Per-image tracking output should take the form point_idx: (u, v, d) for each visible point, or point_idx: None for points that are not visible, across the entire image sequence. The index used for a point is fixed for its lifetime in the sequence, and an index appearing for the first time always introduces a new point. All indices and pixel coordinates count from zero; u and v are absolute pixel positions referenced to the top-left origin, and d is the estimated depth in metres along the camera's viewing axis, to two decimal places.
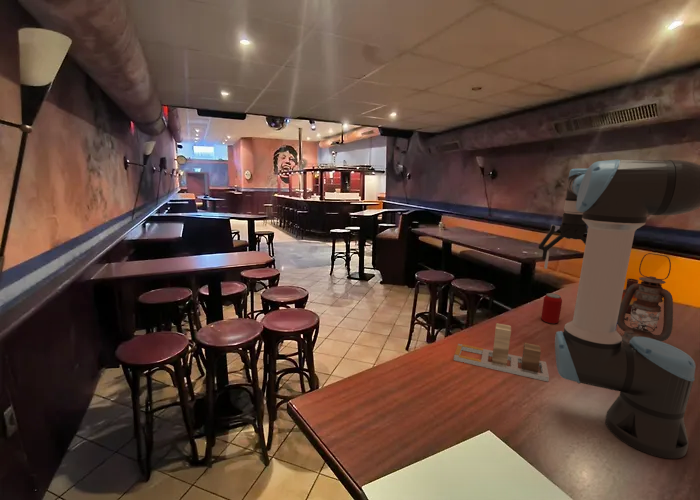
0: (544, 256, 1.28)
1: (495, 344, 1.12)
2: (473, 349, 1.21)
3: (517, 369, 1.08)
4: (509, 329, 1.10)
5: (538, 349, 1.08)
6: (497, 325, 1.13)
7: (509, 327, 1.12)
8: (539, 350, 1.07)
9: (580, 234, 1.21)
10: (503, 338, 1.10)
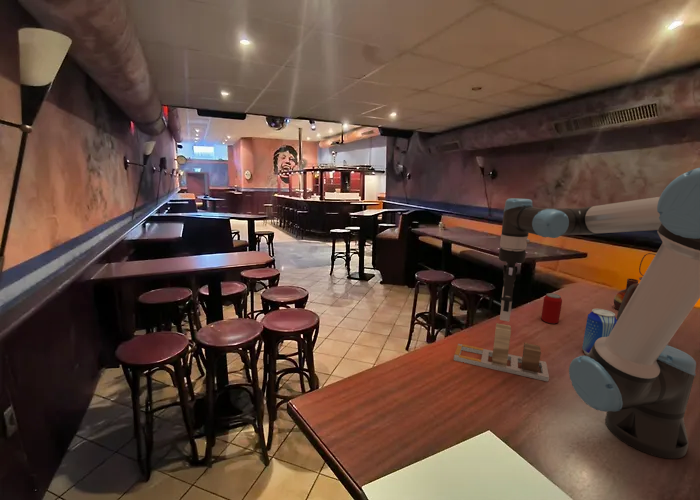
0: None
1: (495, 344, 1.12)
2: (473, 349, 1.21)
3: (517, 369, 1.08)
4: (509, 329, 1.10)
5: (538, 349, 1.08)
6: (497, 325, 1.13)
7: (509, 327, 1.12)
8: (539, 350, 1.07)
9: None
10: (503, 338, 1.10)
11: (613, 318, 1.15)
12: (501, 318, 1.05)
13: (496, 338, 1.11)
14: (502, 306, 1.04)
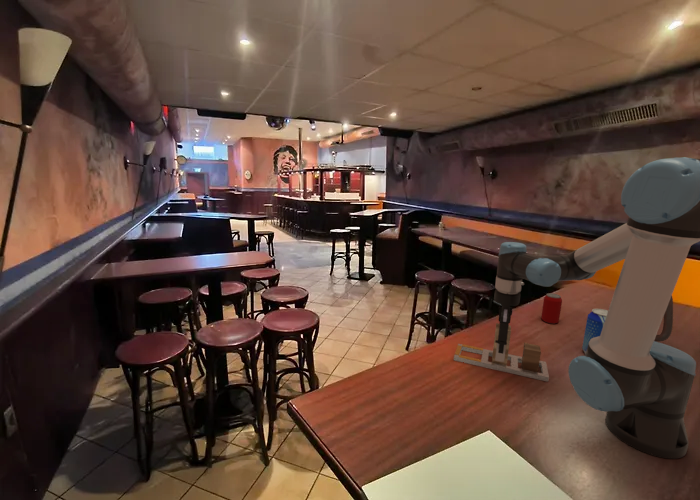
0: None
1: (495, 344, 1.12)
2: (473, 349, 1.21)
3: (517, 369, 1.08)
4: (509, 329, 1.10)
5: (538, 349, 1.08)
6: (497, 325, 1.13)
7: (509, 327, 1.12)
8: (539, 350, 1.07)
9: (499, 314, 1.10)
10: None
11: None
12: (496, 359, 1.12)
13: (496, 338, 1.11)
14: (497, 348, 1.11)
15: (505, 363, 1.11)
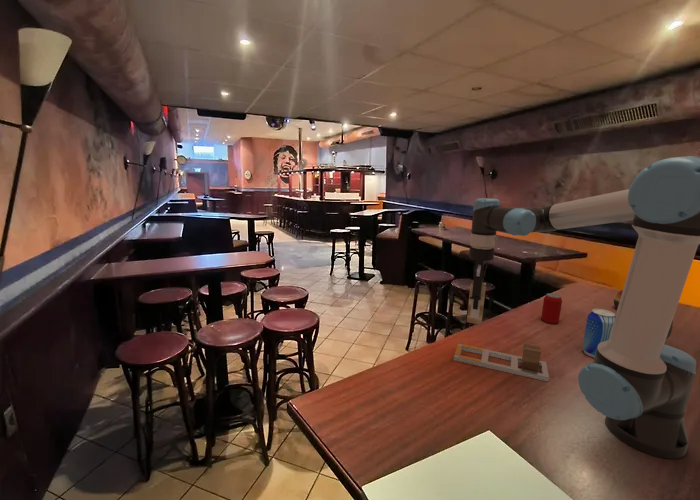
0: None
1: (470, 301, 1.13)
2: (473, 349, 1.21)
3: (517, 369, 1.08)
4: (483, 285, 1.11)
5: (538, 349, 1.08)
6: (472, 282, 1.14)
7: (484, 284, 1.12)
8: (539, 350, 1.07)
9: None
10: None
11: (613, 318, 1.15)
12: (471, 315, 1.13)
13: (471, 295, 1.12)
14: (472, 304, 1.12)
15: (480, 320, 1.12)
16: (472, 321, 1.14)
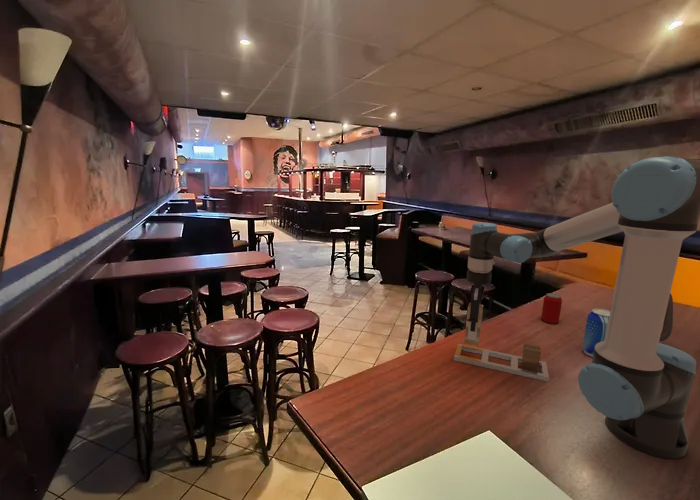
0: None
1: (467, 323, 1.14)
2: (473, 349, 1.21)
3: (517, 369, 1.08)
4: (481, 308, 1.13)
5: (538, 349, 1.08)
6: (470, 304, 1.15)
7: (481, 306, 1.14)
8: (539, 350, 1.07)
9: (471, 293, 1.13)
10: None
11: None
12: (469, 337, 1.14)
13: (468, 317, 1.14)
14: (469, 326, 1.14)
15: (477, 341, 1.14)
16: (469, 342, 1.15)
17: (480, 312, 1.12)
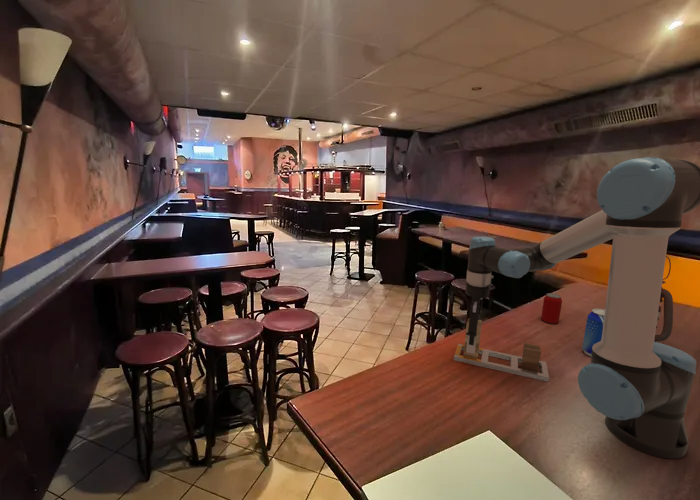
0: None
1: (466, 338, 1.15)
2: None
3: (517, 369, 1.08)
4: (479, 324, 1.14)
5: (538, 349, 1.08)
6: (468, 320, 1.17)
7: (480, 322, 1.15)
8: (539, 350, 1.07)
9: None
10: None
11: None
12: (467, 351, 1.13)
13: (467, 332, 1.15)
14: (468, 340, 1.13)
15: (476, 357, 1.15)
16: None
17: (479, 328, 1.13)
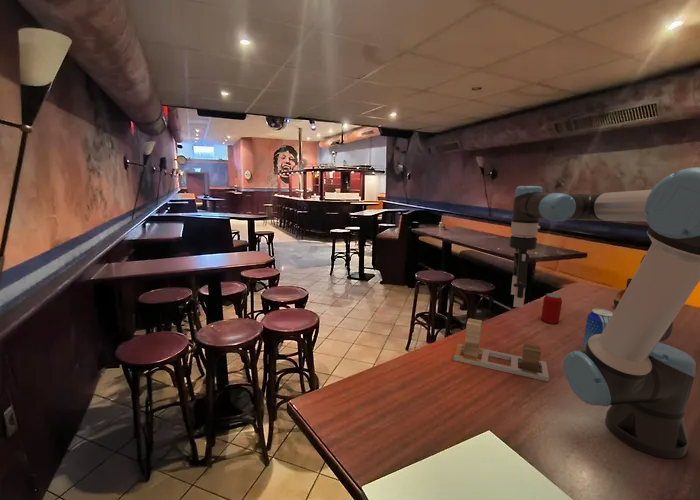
0: None
1: (466, 338, 1.15)
2: None
3: (517, 369, 1.08)
4: (479, 324, 1.14)
5: (538, 349, 1.08)
6: (468, 320, 1.17)
7: (480, 322, 1.15)
8: (539, 350, 1.07)
9: (515, 259, 1.07)
10: (473, 333, 1.14)
11: None
12: (515, 305, 1.05)
13: (467, 332, 1.15)
14: (516, 293, 1.04)
15: (476, 357, 1.15)
16: None
17: (479, 328, 1.13)
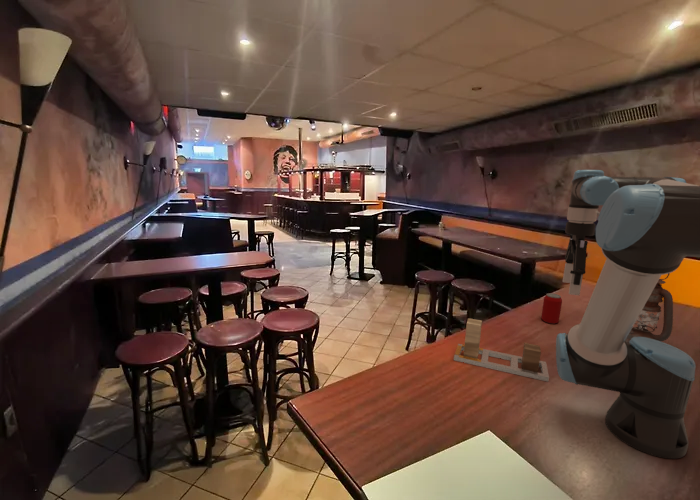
0: None
1: (466, 338, 1.15)
2: None
3: (517, 369, 1.08)
4: (479, 324, 1.14)
5: (538, 349, 1.08)
6: (468, 320, 1.17)
7: (480, 322, 1.15)
8: (539, 350, 1.07)
9: (571, 246, 1.05)
10: (473, 333, 1.14)
11: None
12: (570, 292, 1.03)
13: (467, 332, 1.15)
14: (572, 280, 1.02)
15: (476, 357, 1.15)
16: None
17: (479, 328, 1.13)
